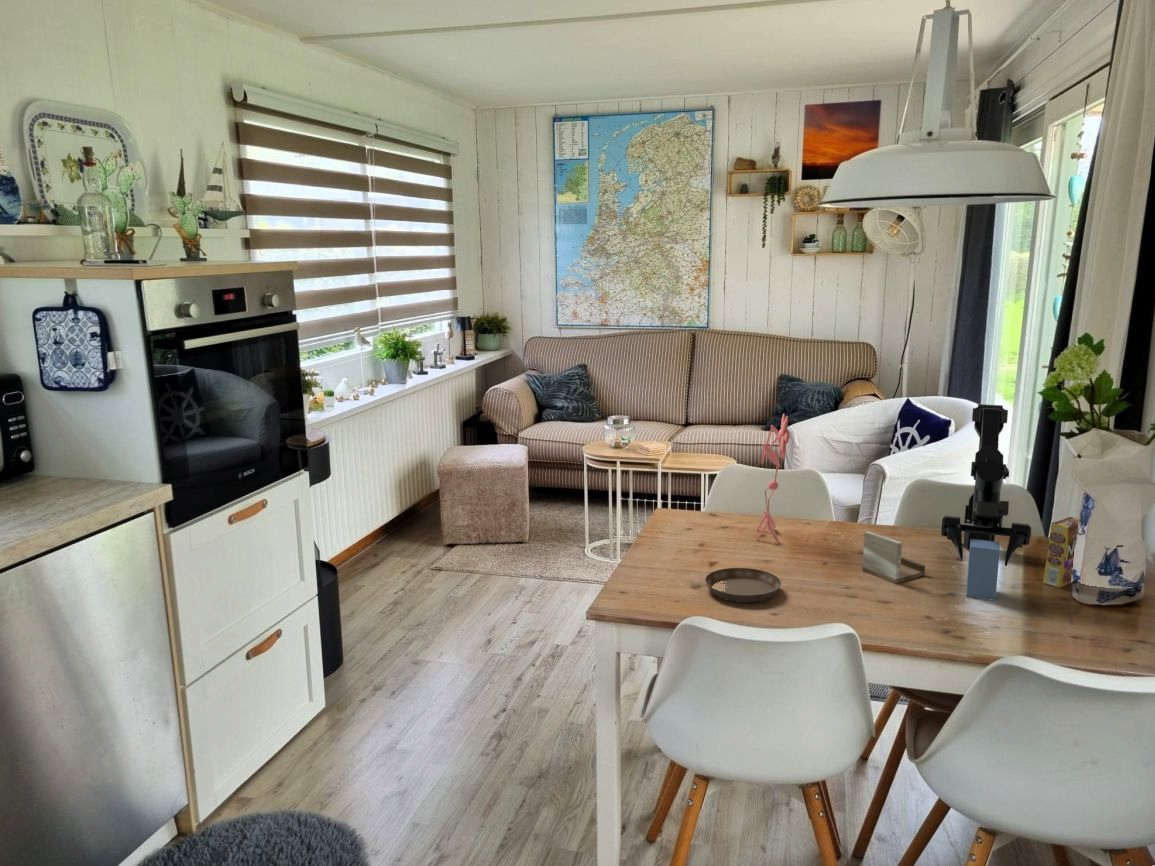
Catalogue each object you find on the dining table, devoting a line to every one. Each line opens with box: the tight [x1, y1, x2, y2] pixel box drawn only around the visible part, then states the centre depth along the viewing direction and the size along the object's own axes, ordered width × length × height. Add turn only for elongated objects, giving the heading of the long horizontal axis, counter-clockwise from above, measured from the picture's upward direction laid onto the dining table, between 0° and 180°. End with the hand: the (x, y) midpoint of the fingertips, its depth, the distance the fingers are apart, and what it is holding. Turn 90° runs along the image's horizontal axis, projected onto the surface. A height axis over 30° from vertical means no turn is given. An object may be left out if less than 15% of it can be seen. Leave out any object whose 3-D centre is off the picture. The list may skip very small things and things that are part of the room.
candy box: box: [1043, 516, 1080, 589], centre depth 199 cm, size 9×4×15 cm, turn 123°
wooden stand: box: [861, 531, 926, 584], centre depth 207 cm, size 10×10×10 cm
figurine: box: [753, 413, 809, 548], centre depth 232 cm, size 15×26×35 cm, turn 168°
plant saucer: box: [704, 567, 782, 603], centre depth 197 cm, size 18×18×3 cm
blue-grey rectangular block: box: [965, 539, 1001, 601], centre depth 193 cm, size 7×6×12 cm
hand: (983, 562), depth 192 cm, fingers open, 9 cm apart
